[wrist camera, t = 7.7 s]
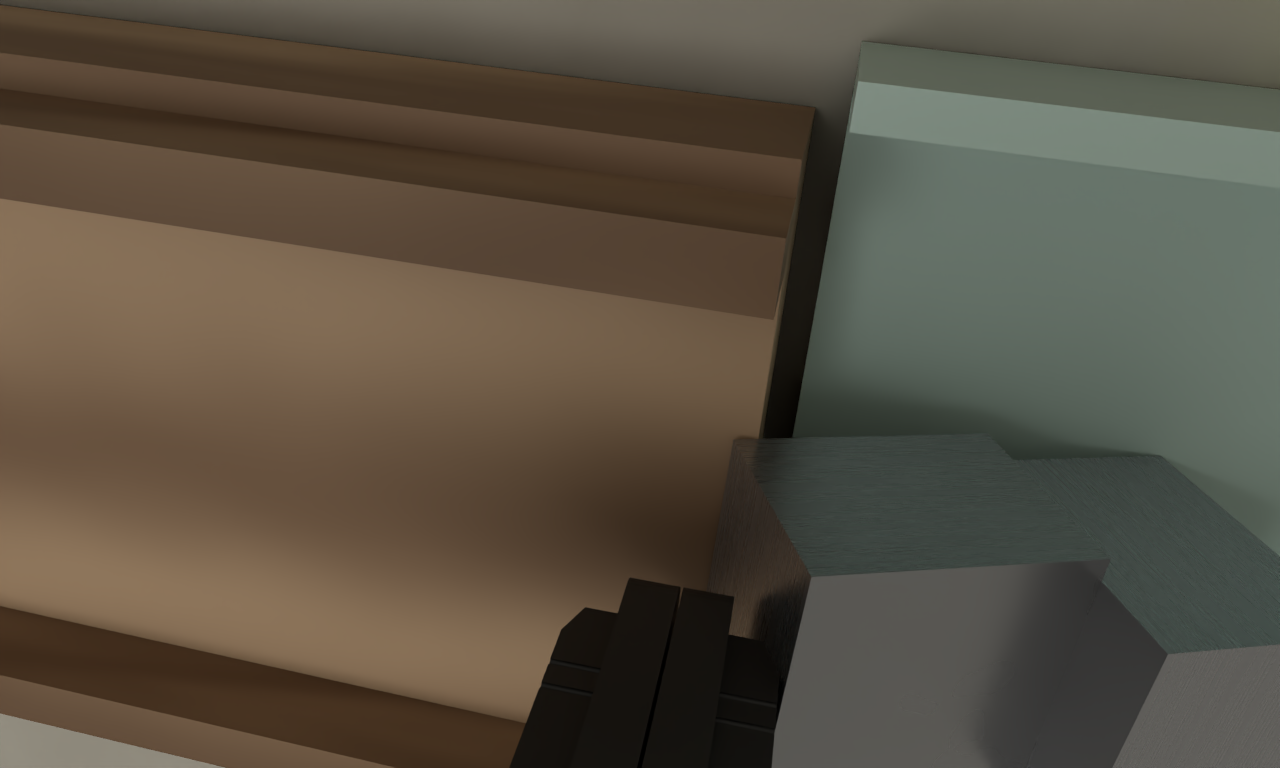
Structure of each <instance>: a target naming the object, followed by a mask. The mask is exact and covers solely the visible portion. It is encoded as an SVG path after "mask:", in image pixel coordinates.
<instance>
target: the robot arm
mask: <svg viewBox="0 0 1280 768" xmlns="http://www.w3.org/2000/svg"><path fill="white" fill-rule="evenodd" d="M679 599H680V587H679V586H673V585H668V584H663V583H657V582H652V581H647V580H641V579H636V578H631V577H630V578H629V579H628V582H627V585H626V588H625V591H624V594H623V598H622V601H621V604H620V607H619V611H618V613H613V612H608V611H603V610H598V609H592V608H587V607H585V608H584V609H583V610H582V611H581V612H580V613H578V614H577V615H576V616H575V617H574V618H573V619H572V620H571V621H570V622H569V623H568V624H567V625H565V626H564V627H563V628H562V629H561V631H560V634H559V636H558V639H557V642H556V644H555V647H554V650H553V652H552V655H551V658H550V663H549V664H548V666H547V668H546V671H545V674H544V676H543V679H542V682H541V687H540V688H539V690H538V692H537V695H536V698H535V700H534V703H533V706H532V708H531V711H530V714H529V716H528V719H527V722H526V724H525V727H524V730H523V732H522V735H521V738H520V740H519V743H518V745H517V748H516V751H515V753H514V756H513V759H512V761H511V764H510V767H509V768H772V758H773V747H774V732H775V723H776V712H777V709H776V708H777V700H778V689H779V677H780V676H779V673H778V671H777V669H776V667H775V665H774V663H773V660H772V658H771V656H770V654H769V652H768V650H767V648H766V645H765V643H764V641H761V640H755V639H750V638H745V637H740V636H734V635H729V629H730V623H731V617H732V610H733V604H734V597H733V596H728V595H723V594H717V593H712V592H707V591H701V590H696V589H690V588H685V587H684V588H683V591H682V595H681V599H680V603H679ZM678 607H679V608H678Z"/></svg>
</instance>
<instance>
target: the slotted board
mask: <svg viewBox="0 0 1280 768" xmlns="http://www.w3.org/2000/svg"><path fill="white" fill-rule="evenodd" d="M814 114H815V108H814V107H807V106H799V105H791V104H783V103H775V102H767V101H759V100H751V99H743V98H735V97H727V96H719V95H711V94H703V93H695V92H687V91H679V90H671V89H664V88H656V87H648V86H640V85H632V84H624V83H616V82H608V81H600V80H592V79H584V78H576V77H568V76H560V75H552V74H544V73H536V72H528V71H521V70H513V69H505V68H497V67H489V66H481V65H473V64H465V63H457V62H449V61H441V60H433V59H425V58H417V57H409V56H401V55H393V54H386V53H378V52H370V51H362V50H354V49H346V48H338V47H330V46H322V45H314V44H306V43H298V42H290V41H282V40H274V39H266V38H258V37H250V36H243V35H235V34H227V33H219V32H211V31H203V30H195V29H187V28H179V27H171V26H163V25H155V24H147V23H139V22H131V21H123V20H115V19H107V18H100V17H92V16H84V15H76V14H68V13H60V12H52V11H44V10H36V9H28V8H20V7H12V6H4V5H0V713H1V714H5V715H10V716H14V717H18V718H22V719H26V720H30V721H34V722H39V723H43V724H47V725H51V726H55V727H59V728H64V729H68V730H72V731H76V732H80V733H84V734H89V735H93V736H97V737H101V738H105V739H109V740H113V741H118V742H122V743H126V744H130V745H134V746H138V747H143V748H147V749H151V750H155V751H159V752H163V753H168V754H172V755H176V756H180V757H184V758H188V759H192V760H197V761H201V762H205V763H209V764H213V765H217V766H222V767H226V768H509V767H510V764H511V761H512V759H513V756H514V753H515V751H516V748H517V745H518V743H519V740H520V738H521V735H522V732H523V730H524V727H525V724H526V722H527V719H528V716H529V714H530V711H531V708H532V706H533V703H534V700H535V698H536V695H537V692H538V690H539V688H540V687H541V682H542V679H543V676H544V674H545V671H546V668H547V666H548V664H549V663H550V658H551V655H552V652H553V650H554V647H555V644H556V642H557V639H558V636H559V634H560V631H561V629H562V628H563V627H564V626H565V625H567V624H568V623H569V622H570V621H571V620H572V619H573V618H574V617H575V616H576V615H577V614H578V613H580V612H581V611H582V610H583V609H584V608H585V607H587V608H592V609H598V610H603V611H608V612H613V613H618V611H619V607H620V604H621V601H622V598H623V594H624V591H625V588H626V585H627V582H628V579H629V578H630V577H631V578H636V579H641V580H647V581H652V582H657V583H663V584H668V585H673V586H679V587H680V599H681V595H682V591H683V588H684V587H685V588H690V589H696V590H701V591H707V586H708V580H709V575H710V569H711V563H712V558H713V552H714V546H715V541H716V535H717V530H718V524H719V518H720V513H721V507H722V501H723V496H724V490H725V485H726V479H727V473H728V468H729V462H730V456H731V451H732V445H733V440H734V439H763V434H764V427H765V421H766V415H767V408H768V402H769V396H770V390H771V383H772V377H773V371H774V365H775V358H776V352H777V346H778V340H779V333H780V327H781V321H782V314H783V308H784V302H785V296H786V289H787V283H788V277H789V271H790V264H791V258H792V252H793V246H794V239H795V233H796V227H797V220H798V214H799V208H800V202H801V195H802V189H803V183H804V177H805V170H806V164H807V158H808V152H809V145H810V139H811V133H812V126H813V120H814ZM680 599H679V603H680ZM678 608H679V607H678Z"/></svg>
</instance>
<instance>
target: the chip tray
mask: <svg viewBox="0 0 1280 768" xmlns="http://www.w3.org/2000/svg"><path fill="white" fill-rule="evenodd" d="M983 433H988V434H989V435H990V436H991V437H992V439H993V440H994V441H995V442H996V443H997V444H998V445H999V446H1000V447H1001V448H1002V449H1003V450H1004V451H1005V452H1006V453H1007V454H1008V455H1009V456H1010V457H1011V458H1012V459H1013V460H1036V459H1069V458H1103V457H1137V456H1162V457H1163V458H1164V459H1166V460H1167V461H1168V462H1169V463H1170V464H1171V465H1173V466H1174V467H1175V468H1176V469H1177V470H1179V471H1180V472H1181V473H1182V474H1183V475H1184V476H1186V477H1187V478H1188V479H1189V480H1190V481H1192V482H1193V483H1194V484H1195V485H1196V486H1197V487H1199V488H1200V489H1201V490H1202V491H1203V492H1205V493H1206V494H1207V495H1208V496H1209V497H1210V498H1212V499H1213V500H1214V501H1215V502H1216V503H1218V504H1219V505H1220V506H1221V507H1222V508H1223V509H1225V510H1226V511H1227V512H1228V513H1229V514H1231V515H1232V516H1233V517H1234V518H1235V519H1236V520H1238V521H1239V522H1240V523H1241V524H1242V525H1244V526H1245V527H1246V528H1247V529H1248V530H1249V531H1251V532H1252V533H1253V534H1254V535H1255V536H1257V537H1258V538H1259V539H1260V540H1261V541H1262V542H1264V543H1265V544H1266V545H1267V546H1268V547H1269V548H1271V549H1272V550H1273V551H1274V552H1275V553H1277V554H1278V555H1279V556H1280V90H1279V89H1270V88H1262V87H1253V86H1244V85H1236V84H1227V83H1219V82H1210V81H1201V80H1193V79H1184V78H1175V77H1167V76H1158V75H1149V74H1141V73H1132V72H1123V71H1115V70H1106V69H1097V68H1089V67H1080V66H1072V65H1063V64H1054V63H1046V62H1037V61H1028V60H1020V59H1011V58H1002V57H994V56H985V55H976V54H968V53H959V52H950V51H942V50H933V49H924V48H916V47H907V46H899V45H890V44H881V43H873V42H864V41H862V44H861V50H860V55H859V61H858V67H857V72H856V78H855V84H854V90H853V95H852V101H851V107H850V112H849V118H848V124H847V129H846V135H845V141H844V146H843V152H842V158H841V164H840V169H839V175H838V181H837V186H836V192H835V198H834V203H833V209H832V215H831V220H830V226H829V232H828V237H827V243H826V249H825V255H824V260H823V266H822V272H821V277H820V283H819V289H818V294H817V300H816V306H815V311H814V317H813V323H812V329H811V334H810V340H809V346H808V351H807V357H806V363H805V368H804V374H803V380H802V385H801V391H800V397H799V403H798V408H797V414H796V420H795V425H794V431H793V437H792V438H816V437H858V436H899V435H941V434H983Z"/></svg>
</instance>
